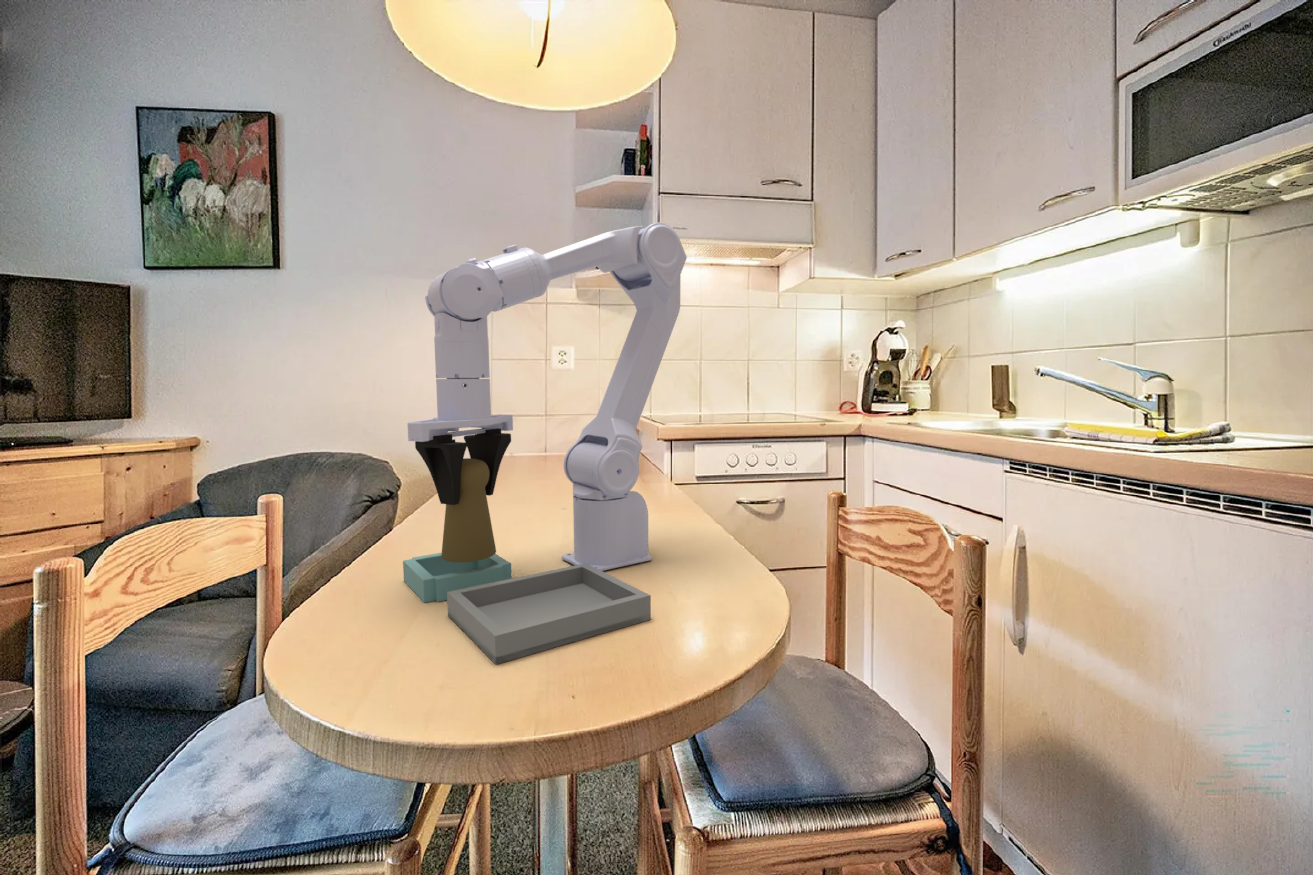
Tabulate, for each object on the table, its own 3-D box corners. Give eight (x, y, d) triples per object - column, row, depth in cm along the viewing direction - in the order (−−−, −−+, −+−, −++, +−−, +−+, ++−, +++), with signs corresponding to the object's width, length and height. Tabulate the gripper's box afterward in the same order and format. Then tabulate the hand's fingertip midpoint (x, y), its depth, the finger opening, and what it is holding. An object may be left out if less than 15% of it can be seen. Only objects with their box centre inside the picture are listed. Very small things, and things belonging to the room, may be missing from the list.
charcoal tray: (586, 583, 70) (585, 563, 70) (650, 619, 60) (650, 595, 60) (447, 615, 61) (447, 591, 61) (495, 664, 51) (494, 635, 50)
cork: (498, 558, 68) (494, 462, 66) (441, 565, 65) (436, 465, 64) (493, 543, 73) (490, 454, 72) (441, 548, 71) (436, 456, 70)
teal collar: (483, 564, 78) (482, 545, 78) (513, 585, 70) (513, 564, 70) (402, 579, 72) (401, 559, 72) (425, 604, 64) (424, 581, 64)
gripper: (479, 378, 75) (483, 485, 77) (383, 379, 62) (390, 508, 63) (525, 378, 72) (528, 489, 74) (435, 379, 59) (440, 514, 61)
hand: (467, 499), depth 68 cm, fingers closed on cork, 5 cm apart
